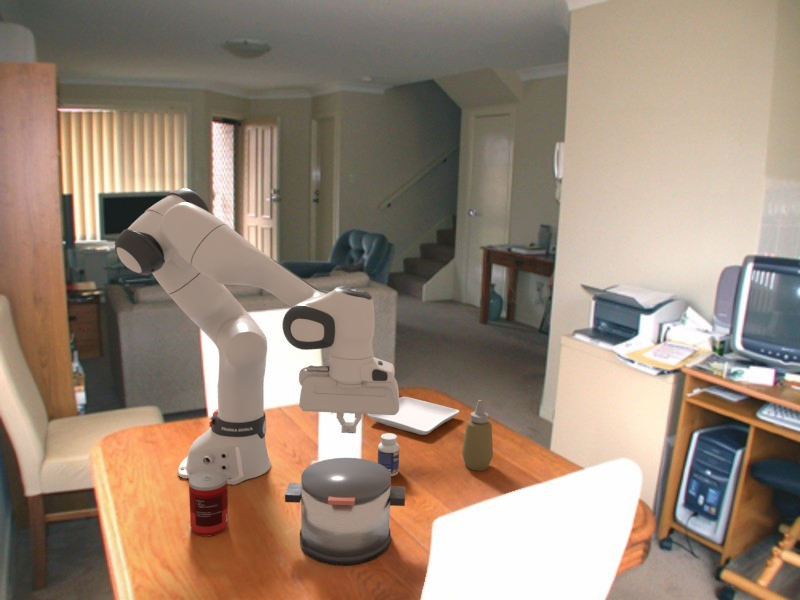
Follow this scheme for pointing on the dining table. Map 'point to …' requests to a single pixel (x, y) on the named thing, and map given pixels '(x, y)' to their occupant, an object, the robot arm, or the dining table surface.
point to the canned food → (208, 502)
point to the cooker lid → (345, 480)
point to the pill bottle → (389, 453)
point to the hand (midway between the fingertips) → (348, 432)
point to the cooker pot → (345, 526)
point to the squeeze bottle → (478, 440)
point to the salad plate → (416, 416)
